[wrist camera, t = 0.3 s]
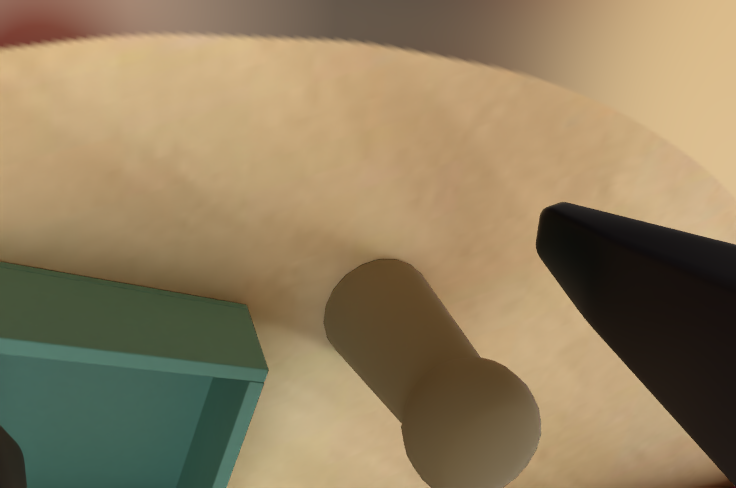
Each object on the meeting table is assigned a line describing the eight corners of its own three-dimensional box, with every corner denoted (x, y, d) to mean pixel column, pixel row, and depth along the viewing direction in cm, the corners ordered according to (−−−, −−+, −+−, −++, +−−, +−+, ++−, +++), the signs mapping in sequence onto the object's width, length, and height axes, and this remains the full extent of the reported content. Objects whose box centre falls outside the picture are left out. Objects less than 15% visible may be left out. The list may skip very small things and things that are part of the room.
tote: (178, 508, 27) (183, 608, 23) (-120, 509, 22) (-196, 642, 17) (247, 304, 25) (269, 369, 20) (-75, 247, 19) (-150, 319, 14)
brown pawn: (310, 357, 27) (395, 536, 17) (342, 250, 25) (454, 382, 16) (410, 363, 30) (531, 521, 20) (444, 267, 28) (593, 388, 18)
